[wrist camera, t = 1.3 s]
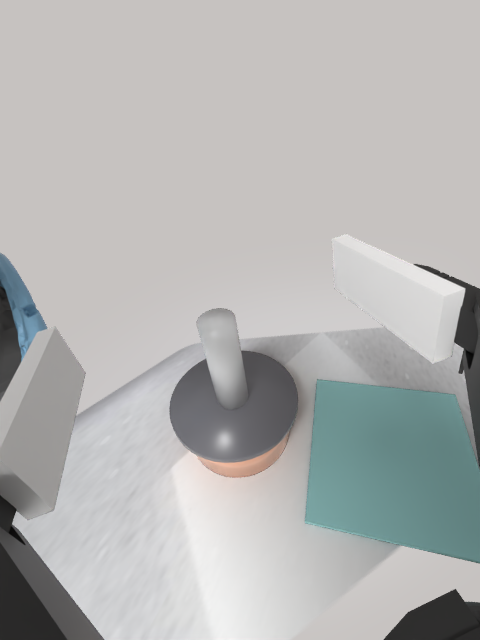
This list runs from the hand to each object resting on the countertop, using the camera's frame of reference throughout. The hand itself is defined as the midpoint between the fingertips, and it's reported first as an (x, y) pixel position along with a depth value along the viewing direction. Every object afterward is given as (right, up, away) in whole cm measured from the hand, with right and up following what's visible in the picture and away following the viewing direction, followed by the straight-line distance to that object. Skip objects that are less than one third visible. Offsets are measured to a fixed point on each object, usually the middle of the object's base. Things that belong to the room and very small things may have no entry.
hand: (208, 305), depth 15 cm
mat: (+16, -14, +17) cm, 27 cm away
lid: (+1, -9, +18) cm, 20 cm away
